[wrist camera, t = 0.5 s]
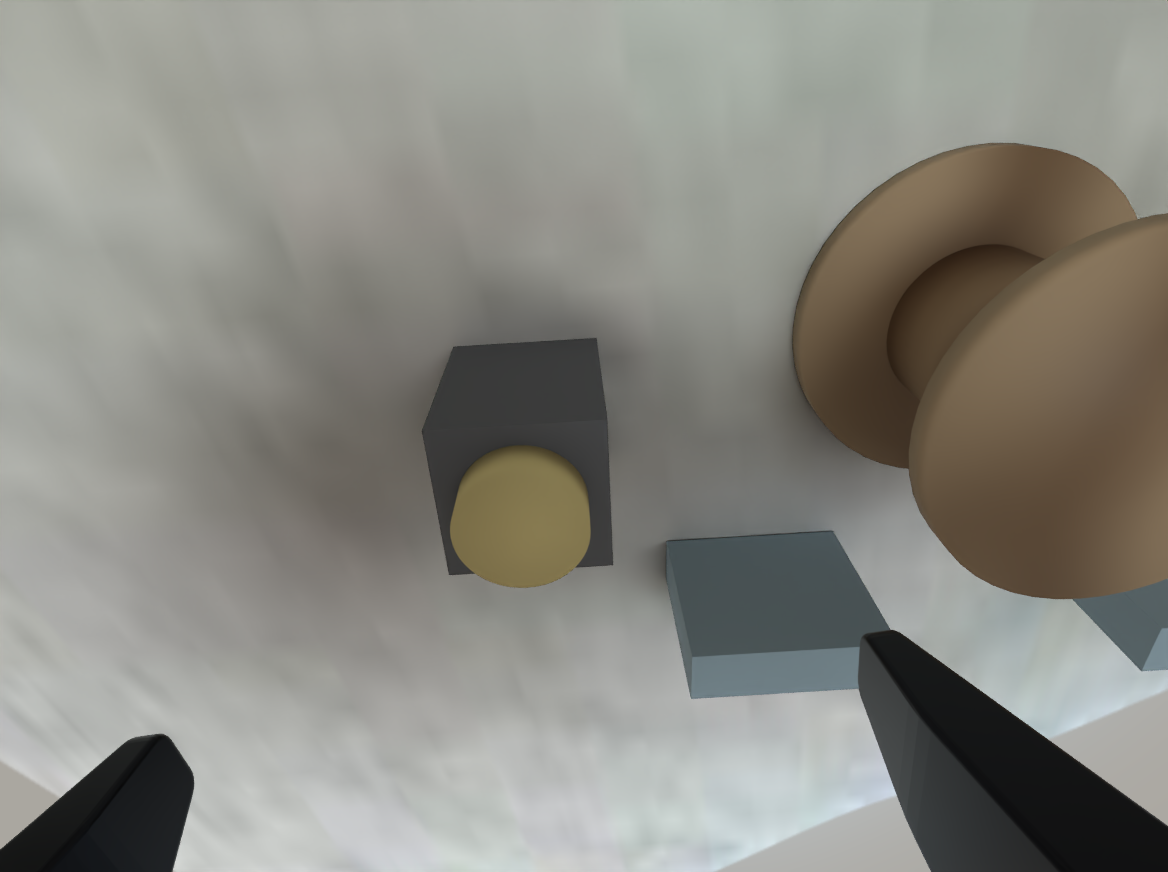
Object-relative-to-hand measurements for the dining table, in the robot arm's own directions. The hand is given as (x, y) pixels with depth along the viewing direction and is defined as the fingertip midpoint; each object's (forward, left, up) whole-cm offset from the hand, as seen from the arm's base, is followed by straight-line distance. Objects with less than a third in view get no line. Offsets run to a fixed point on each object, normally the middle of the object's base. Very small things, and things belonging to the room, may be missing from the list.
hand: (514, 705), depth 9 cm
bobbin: (-12, 0, -12) cm, 17 cm away
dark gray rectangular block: (0, +2, -12) cm, 12 cm away
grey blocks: (-13, +8, -12) cm, 19 cm away
